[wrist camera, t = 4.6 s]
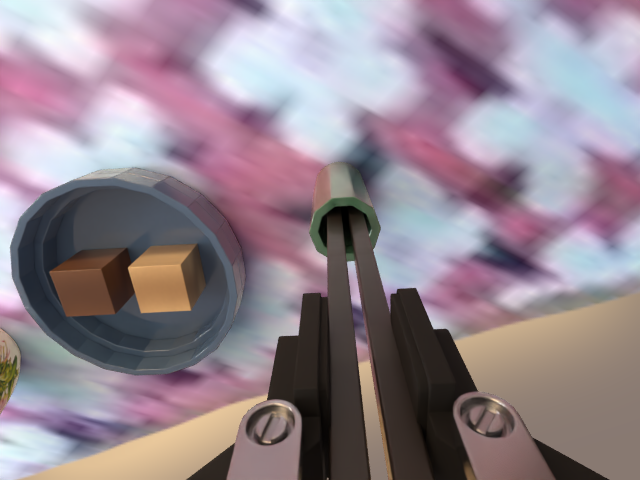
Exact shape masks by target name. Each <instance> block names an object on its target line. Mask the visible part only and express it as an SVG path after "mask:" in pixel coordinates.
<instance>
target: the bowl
mask: <svg viewBox="0 0 640 480" xmlns="http://www.w3.org/2000/svg"><path fill="white" fill-rule="evenodd" d="M181 244H198V248H199V253H200V258H201V263H202V268H203V273H204V278H205V282H206V286H205V288H204V290H203V291H202V293H201V295H200V296H199V298H198V300H197V302H196V303H195V305H194V307H193V308H192V310H191V311H172V312H152V313H141V311H140V308H139V304H138V301H137V297H136V294H134V295H133V296H132V297H131V298H130V299H129V300H128V301H127V302H126V303H125V305H124V306H123V307H122V308H121V309H120V310H119V311H118V312H117V313H116V314H111V315H91V316H71V317H66V314H65V312H64V309H63V307H62V304H61V301H60V299H59V296H58V293H57V291H56V288H55V285H54V283H53V280H52V277H51V275H50V271H51V270H53V269H54V268H56V267H57V266H59V265H60V264H62V263H63V262H64V261H66V260H67V259H69V258H70V257H72V256H73V255H75V254H76V253H78V252H79V251H81V250H94V249H112V248H127V249H128V253H129V256H130V260H131V263H133V262H134V261H135V260H136V259H138V258H139V257H140V256H141V255H142V254H143V253H144V252H145V251H146V250H147V249H148V248H149V247H150V246H164V245H181ZM10 254H11V268H12V278H13V281H14V283H15V286H16V288H17V290H18V293H19V295H20V298H21V300H22V302H23V305H24V307H25V309H26V310H27V311H28V312H29V314H30V315H31V316H32V317H33V319H34V320H35V321H36V322H37V324H38V325H39V326H40V327H41V329H42V330H43V331H44V332H45V334H47V335H48V336H49V337H50V338H52V339H53V340H54V341H56V342H57V343H58V344H60V345H61V346H62V347H63V348H65V349H66V350H67V351H69V352H70V353H71V354H73V355H74V356H77V357H79V358H81V359H83V360H85V361H88V362H90V363H92V364H94V365H97V366H99V367H101V368H103V369H106V370H111V371H116V372H121V373H126V374H131V375H156V374H169V373H172V372H175V371H178V370H181V369H184V368H187V367H190V366H193V365H195V364H197V363H198V362H199V361H201V360H202V359H203V358H205V357H206V356H208V355H209V354H210V353H212V352H213V351H214V350H216V349H217V348H218V347H219V345H220V343H221V342H222V340H223V339H224V337H225V336H226V334H227V333H228V331H229V330H230V328H231V326H232V324H233V322H234V319H235V317H236V314H237V312H238V309H239V306H240V304H241V300H242V295H243V290H244V285H245V280H246V274H245V268H244V262H243V256H242V249H241V246H240V245H239V243H238V241H237V239H236V237H235V235H234V233H233V231H232V229H231V227H230V225H229V223H228V222H227V220H226V219H225V218H224V217H223V216H222V215H221V214H220V213H219V212H218V210H217V209H216V208H215V207H214V206H213V205H212V204H211V203H210V202H209V201H208V200H207V199H206V198H205V197H204V196H203V195H201V194H200V193H199V192H197V191H195V190H193V189H192V188H190V187H188V186H186V185H185V184H183V183H181V182H179V181H178V180H176V179H174V178H172V177H170V176H167V175H163V174H159V173H155V172H151V171H147V170H143V169H139V168H119V169H104V170H98V171H95V172H93V173H90V174H88V175H85V176H82V177H80V178H77V179H74V180H72V181H70V182H67V183H65V184H63V185H60V186H58V187H56V188H54V189H51V190H49V191H47V192H45V193H42V194H41V195H40V196H39V197H38V198H37V200H36V201H35V202H34V203H33V204H32V205H31V206H30V207H29V208H28V209H27V210H26V211H25V212H24V213H23V214H22V216H21V217H20V218H19V221H18V224H17V227H16V230H15V233H14V236H13V239H12V242H11V245H10Z"/></svg>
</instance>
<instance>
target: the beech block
mask: <svg viewBox="0 0 640 480" xmlns="http://www.w3.org/2000/svg"><path fill="white" fill-rule="evenodd" d="M128 270H129V273H130V277H131V280H132V284H133V287H134V290H135V294H136V297H137V301H138V304H139V308H140V311H141V313H152V312H172V311H191V310H192V308H193V307H194V305H195V303H196V302H197V300H198V298H199V296H200V295H201V293H202V291H203V290H204V288H205V286H206V282H205V278H204V273H203V268H202V263H201V258H200V253H199V248H198V244H181V245H164V246H150V247H149V248H148V249H147V250H146V251H145V252H144V253H143V254H142V255H141V256H140V257H139V258H138V259H136V260H135V261H134V262H133V263H132V264H131V265H130V266H129V267H128Z"/></svg>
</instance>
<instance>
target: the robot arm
mask: <svg viewBox="0 0 640 480" xmlns="http://www.w3.org/2000/svg"><path fill="white" fill-rule="evenodd" d="M390 321H391V325H392V329H393V332H394V336H395V340H396V344H397V348H398V352H399V355H400V359H401V363H402V367H403V371H404V374H405V378H406V382H407V386H408V390H409V393H410V397H411V401H412V405H413V409H414V412H415V416H416V420H417V423H419V424H420V425H421V429H422V432H423V436H424V440H425V443H426V447H427V451H428V454H429V458H430V462H431V465H432V469H433V473H434V476H435V480H609V479H607V478H605V477H603V476H602V475H600V474H598V473H596V472H594V471H592V470H591V469H589V468H587V467H585V466H583V465H582V464H580V463H578V462H576V461H574V460H572V459H571V458H569V457H567V456H565V455H563V454H562V453H560V452H558V451H556V450H554V449H552V448H551V447H549V446H547V445H545V444H543V443H542V442H540V441H538V440H536V439H534V438H532V436H531V434H530V433H529V431H528V429H527V427H526V426H525V424H524V422H523V420H522V419H521V417H520V415H519V414H518V412H517V411H516V410H515V408H514V407H513V406H512V405H510V404H509V403H508V402H507V401H505V400H503V399H502V398H499V397H498V396H496V395H493V394H489V393H485V392H478V390H477V388H476V386H475V384H474V382H473V380H472V378H471V376H470V374H469V372H468V370H467V368H466V365H465V363H464V361H463V359H462V357H461V355H460V353H459V351H458V349H457V347H456V345H455V343H454V341H453V339H452V336H451V334H450V333H449V331H448V330H447V329H433V327H432V325H431V322H430V320H429V318H428V315H427V313H426V311H425V308H424V306H423V304H422V301H421V299H420V296H419V294H418V292H417V290H416V288H406V289H397V294H391V313H390ZM329 426H331V417H330V334H329V311H328V298H327V297H321V293H306V294H303V300H302V309H301V318H300V327H299V336H280V337H279V339H278V344H277V349H276V355H275V360H274V365H273V371H272V376H271V382H270V387H269V393H268V398H267V401H264V402H261V403H259V404H256V405H255V406H254V407H252V408H251V409H250V410H248V412H247V413H246V414H245V415H244V416H243V418H242V421H241V423H240V426H239V430H238V434H237V438H236V442H235V443H234V444H233V445H232V446H230V447H229V448H227V449H226V450H225V451H224V452H222V453H221V454H220V455H218V456H217V457H216V458H214V459H213V460H212V461H210V462H209V463H208V464H206V465H205V466H204V467H202V468H201V469H200V470H199V471H197V472H196V473H195V474H193V475H192V476H191V477H189V478H188V479H187V480H327V478H329V456H328V428H329Z"/></svg>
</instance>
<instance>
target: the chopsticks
mask: <svg viewBox="0 0 640 480" xmlns="http://www.w3.org/2000/svg"><path fill="white" fill-rule="evenodd" d="M346 208H347V215H348V221H349V227H350V234H351V240H352V247H353V253H354V260H355V266H356V273H357V279H358V285H359V292H360V298H361V305H362V311H363V318H364V324H365V331H366V337H367V343H368V350H369V356H370V363H371V369H372V376H373V382H374V389H375V395H376V401H377V408H378V414H379V421H380V427H381V434H382V440H383V446H384V453H385V459H386V466H387V472H388V479H389V480H435V476H434V473H433V469H432V465H431V462H430V458H429V454H428V451H427V447H426V443H425V440H424V436H423V432H422V429H421V425H420V424H419V423H417V420H416V416H415V412H414V409H413V405H412V401H411V397H410V393H409V390H408V386H407V382H406V378H405V374H404V371H403V367H402V363H401V359H400V355H399V352H398V348H397V344H396V340H395V336H394V332H393V329H392V325H391V321H390V311H389V307H388V303H387V300H386V296H385V292H384V289H383V285H382V281H381V278H380V274H379V270H378V267H377V263H376V259H375V256H374V252H373V248H372V245H371V241H370V237H369V234H368V230H367V226H366V223H365V219H364V215H363V212H362V211H360V210H359V209H357V208H355V207H354V206H346ZM327 274H328V311H329V334H330V417H331V426H329V428H328V456H329V480H371V475H370V467H369V457H368V449H367V439H366V430H365V421H364V412H363V404H362V395H361V385H360V376H359V367H358V358H357V349H356V340H355V331H354V322H353V313H352V304H351V295H350V286H349V277H348V268H347V259H346V250H345V241H344V232H343V223H342V214H341V206H337V207H334V208H333V209H332V210H330V211H329V212H328V213H327Z"/></svg>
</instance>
